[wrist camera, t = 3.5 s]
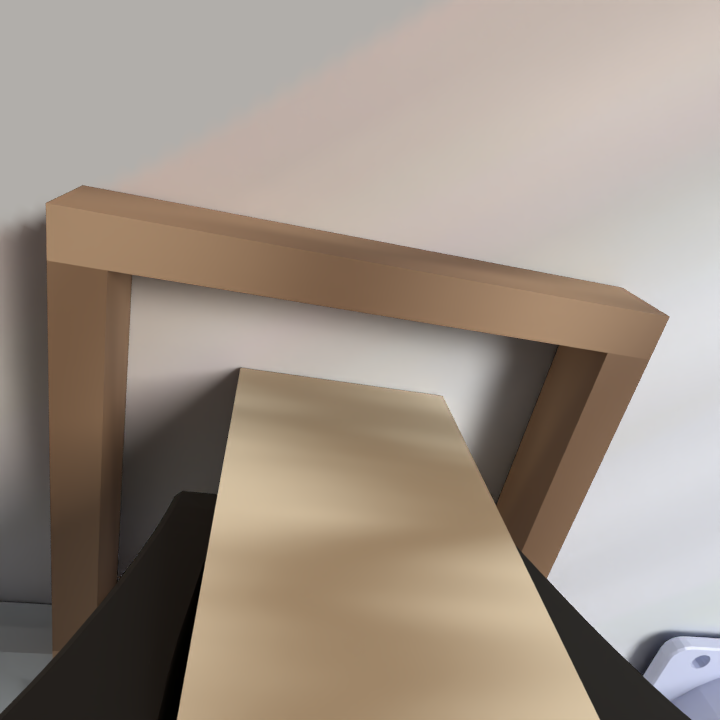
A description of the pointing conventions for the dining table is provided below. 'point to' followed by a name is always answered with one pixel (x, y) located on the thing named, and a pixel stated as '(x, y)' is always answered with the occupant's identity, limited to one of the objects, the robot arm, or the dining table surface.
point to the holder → (325, 288)
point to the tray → (23, 646)
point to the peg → (364, 571)
